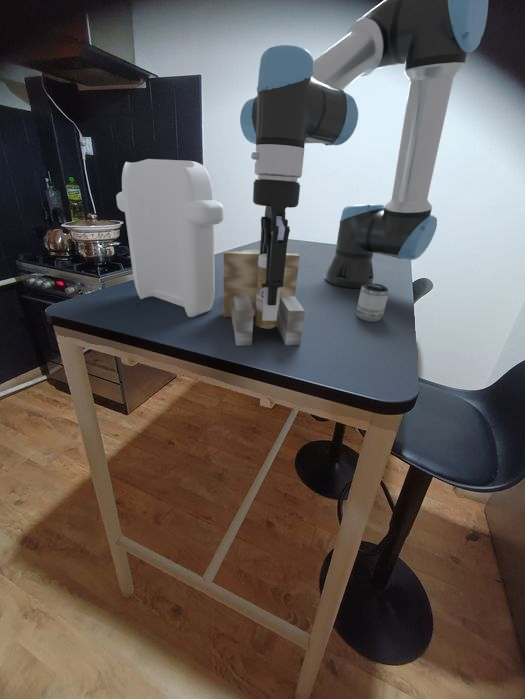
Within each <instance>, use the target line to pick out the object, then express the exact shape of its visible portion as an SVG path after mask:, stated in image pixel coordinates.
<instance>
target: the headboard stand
mask: <svg viewBox="0 0 525 699" xmlns="http://www.w3.org/2000/svg"><path fill="white" fill-rule="evenodd" d="M259 255H260V252H242V251H229V250H224V251H223V256H222V257H223V268H222V269H223V270H222V271H223V276H222V277H223V278H222V279H223V283H222V284H223V285H222V290H223V293H222V296H223V298H222V299H223V300H222V302H223V303H222V304H223V308H222V309H223V310H222V314H223V317H225V318H227V317H228V318H229V317H230V318H231V324H232V330H233V335H234V341H235V346H236V347H238V346H240V347H241V346H252V345H253V330H254V329H253V328H254V317H253V316H256V296H257V287H258V274H259V268H258V259H259ZM300 256H301V255H299V253H291V252H290V253H288V252H286V261H285V271H284V280H283V283H284V284H283V287H280V297H279V309H278V316H277V326H276V328H277V330H278V332H279V335H280V337H281V338H282V341H283V343H284V345H285V346H297V345H298V346H300V345H302V344H301V343H302V334H303V329H304V328H303V327H304V322H305V321H304V320H305V312H306V311H305V308H303V306H302V305H301V302H299V300H298V299H297V297H296V292H297V291H296V290H297V284H298V272H299V263H300Z"/></svg>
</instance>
